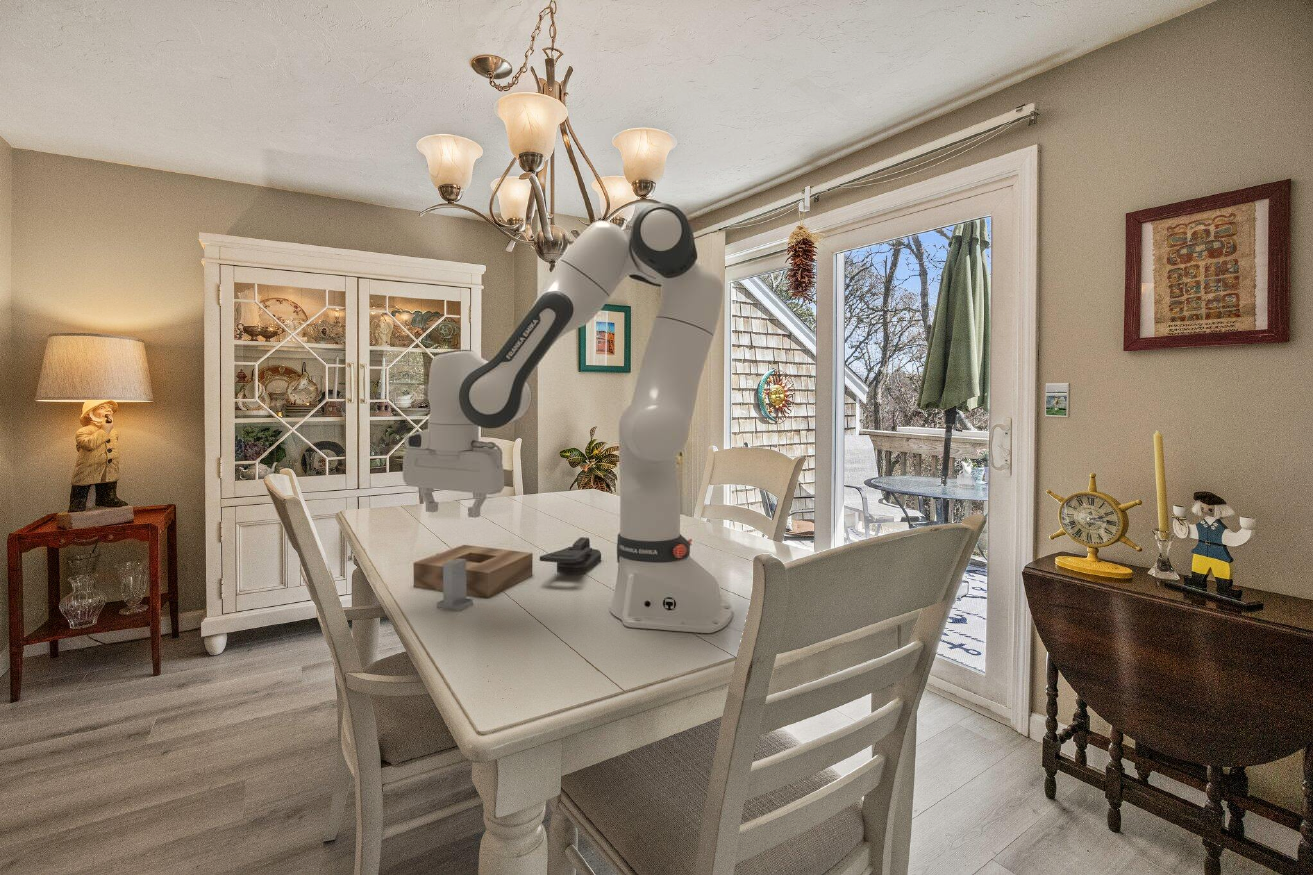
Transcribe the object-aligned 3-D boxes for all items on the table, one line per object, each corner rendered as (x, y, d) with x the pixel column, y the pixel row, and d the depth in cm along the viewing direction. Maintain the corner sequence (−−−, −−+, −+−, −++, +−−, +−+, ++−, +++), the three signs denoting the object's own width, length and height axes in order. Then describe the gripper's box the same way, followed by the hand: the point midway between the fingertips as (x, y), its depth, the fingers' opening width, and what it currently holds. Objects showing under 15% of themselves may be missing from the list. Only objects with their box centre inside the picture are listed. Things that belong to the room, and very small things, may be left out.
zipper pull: (535, 556, 124) (568, 529, 149) (535, 588, 125) (568, 556, 150) (578, 558, 123) (604, 531, 148) (577, 590, 124) (603, 558, 148)
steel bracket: (473, 604, 114) (472, 560, 114) (459, 611, 111) (458, 565, 110) (451, 601, 116) (450, 557, 116) (436, 607, 112) (436, 562, 112)
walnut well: (532, 575, 133) (532, 553, 133) (488, 598, 118) (488, 572, 118) (464, 566, 139) (463, 544, 139) (413, 586, 124) (413, 562, 124)
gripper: (512, 441, 111) (510, 516, 112) (421, 435, 118) (420, 506, 119) (491, 443, 105) (490, 523, 106) (397, 437, 112) (396, 511, 113)
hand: (452, 514), depth 112 cm, fingers open, 8 cm apart
